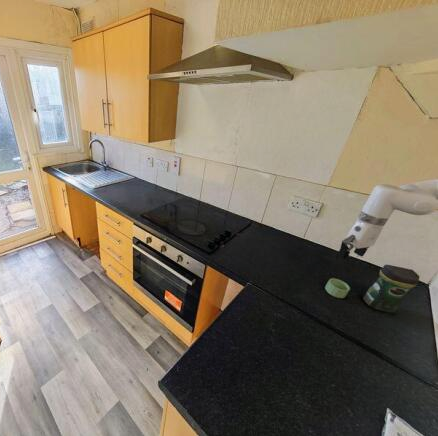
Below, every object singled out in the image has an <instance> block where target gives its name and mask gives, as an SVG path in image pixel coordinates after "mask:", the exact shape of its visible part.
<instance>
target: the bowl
mask: <svg viewBox="0 0 438 436" xmlns="http://www.w3.org/2000/svg"><path fill="white" fill-rule="evenodd" d="M324 289H325V291H326V292H327V293H328V294H329V295H330V296H332V297H334V298H337V299H344V298H346V296H347V295H348V293H349V292H350V290H351V287H350V285H348V283H346V282H345V281H343V280H341V279H338V278H334V277H333V278H329V280H328V281H327V283H326V285H325V286H324Z"/></svg>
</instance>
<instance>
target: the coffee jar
mask: <svg viewBox="0 0 438 436" xmlns="http://www.w3.org/2000/svg"><path fill="white" fill-rule="evenodd" d="M419 281H420V275H419V274H418V273H417V272H416V271H415V270H414V269H411V268H406V267H401V266H397V265H392V264H384V265H383V266H382V267H381V268H380V270H379V275H378V277H377V278H376V280H375V281H374V282H373V284H372V285H371V286H370V287H369V288H368V289H367V290H366V291H365V292H364V294H363V295H362V299H363V301H364V303H365V304H366V305H367V306H369V307H370V308H372V309H373V310H377V311H380V312H384V313H388V314H394V313H396V312H397V310H398V309H399V307H400V305H401V304H402V302H403V300H404V298H405V296H406V295H407V293H408V292H409V291H410V290H411V289H414V288H415V287H416V286H417V284H418V282H419Z"/></svg>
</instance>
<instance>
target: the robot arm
mask: <svg viewBox="0 0 438 436" xmlns="http://www.w3.org/2000/svg"><path fill="white" fill-rule="evenodd" d="M437 209H438V178H435V179H427V180H421V181H415V182H410V183H405V184H402V185H399V186H396V185H391V184H385V183H379V184H377V185H376V186H375V187H373V189H372V190H371V192H370V194H369V197H368V198H367V199H366V202H365V203H364V205H363V207H362V209H361V211H360V213H358V216H357V218H356V219H357V220H356V221H355V223H354V224H353V226H352V227H351V228H350V230H349V231H348V233H347V235H346V237H345V238H344V239H342V240H341V244H340V248H339V250H338V252H337V253H336V257H338V258H339V259H341V260H343V261H346V260H347V259H348V258H349V255H350V253H351V250H353V249H354V248H355V249H354V251H353V253H354V254H356V255H358V256H359V257H364V256H365V254H366V252H367V251H368V250H369V248H370V247H373V246H374V245H375V243H376V241H377V240H378V238H379V236H380V234H381V232H382V231H383V229H384V226H385V225H386V224H387V222H388V220H389V218H390V217H391V215H393V213H394V211H395V210H396V211H400V212H403V213H406V214H409V215H414V216H426V215H429V214H432V213H434V212H435V211H436V210H437Z"/></svg>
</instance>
